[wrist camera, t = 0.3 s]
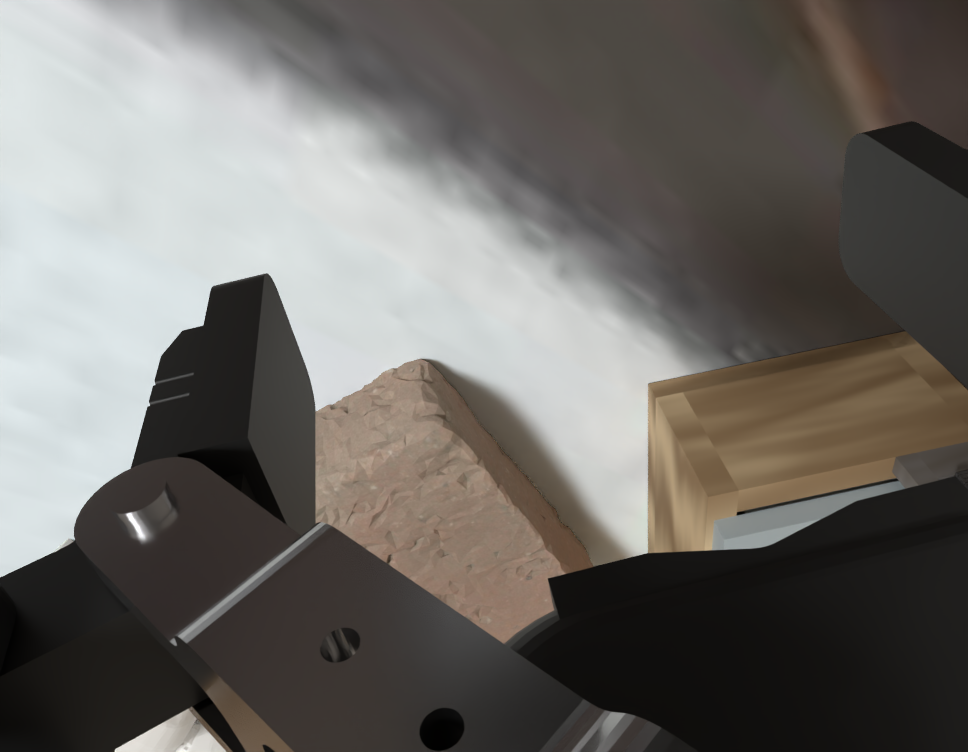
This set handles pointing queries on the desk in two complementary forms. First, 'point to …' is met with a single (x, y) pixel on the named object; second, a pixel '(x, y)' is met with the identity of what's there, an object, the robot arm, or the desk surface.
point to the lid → (789, 516)
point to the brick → (440, 499)
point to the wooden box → (797, 433)
